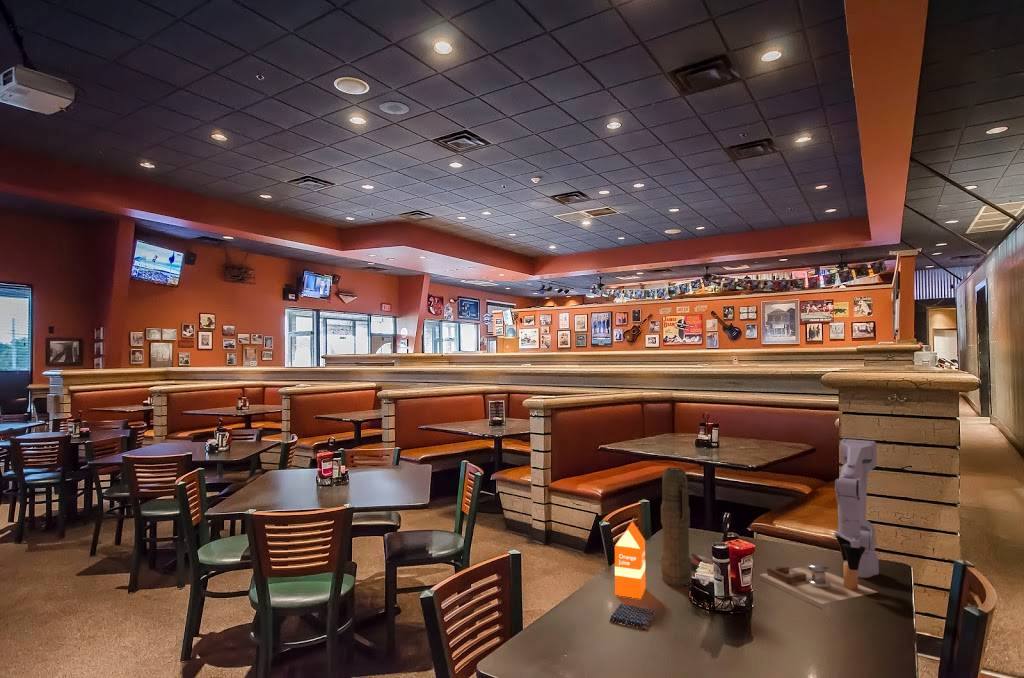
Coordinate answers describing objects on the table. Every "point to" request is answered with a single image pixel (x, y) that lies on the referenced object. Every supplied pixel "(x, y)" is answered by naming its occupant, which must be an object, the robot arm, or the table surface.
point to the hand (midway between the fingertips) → (850, 564)
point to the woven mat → (633, 616)
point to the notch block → (781, 575)
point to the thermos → (675, 528)
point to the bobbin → (818, 575)
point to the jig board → (821, 594)
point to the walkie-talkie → (697, 561)
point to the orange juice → (630, 564)
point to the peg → (850, 577)
